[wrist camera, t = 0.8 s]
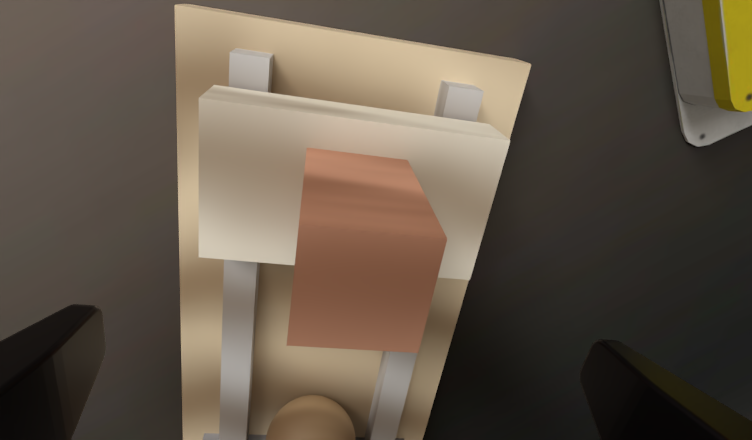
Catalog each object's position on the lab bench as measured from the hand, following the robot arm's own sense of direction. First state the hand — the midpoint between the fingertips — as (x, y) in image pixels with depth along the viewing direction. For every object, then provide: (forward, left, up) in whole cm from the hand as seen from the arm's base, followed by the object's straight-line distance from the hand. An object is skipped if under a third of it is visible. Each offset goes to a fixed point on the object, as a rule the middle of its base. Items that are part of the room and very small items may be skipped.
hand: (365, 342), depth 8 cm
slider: (0, 0, -9) cm, 9 cm away
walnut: (-13, 0, -10) cm, 16 cm away
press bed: (-7, 0, -11) cm, 13 cm away
